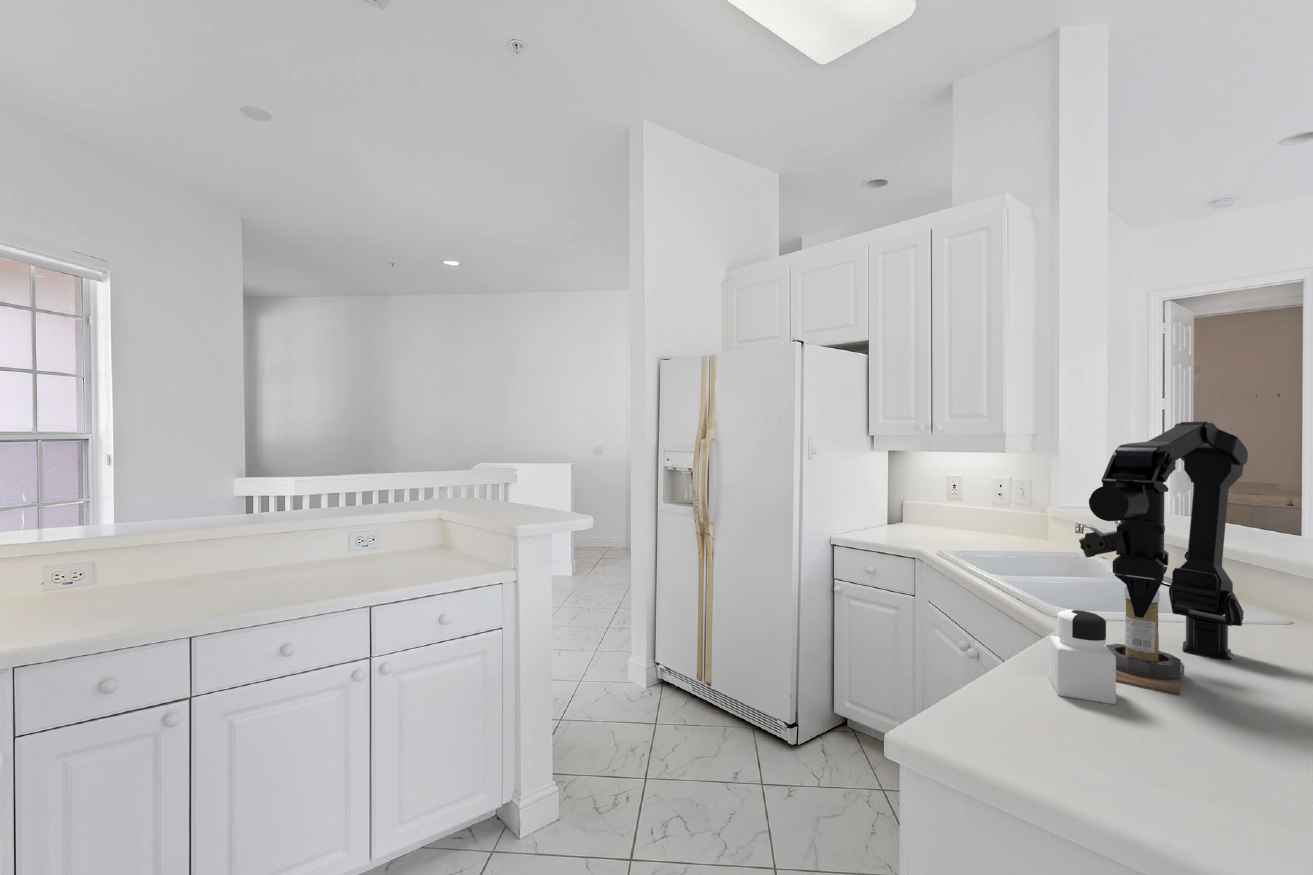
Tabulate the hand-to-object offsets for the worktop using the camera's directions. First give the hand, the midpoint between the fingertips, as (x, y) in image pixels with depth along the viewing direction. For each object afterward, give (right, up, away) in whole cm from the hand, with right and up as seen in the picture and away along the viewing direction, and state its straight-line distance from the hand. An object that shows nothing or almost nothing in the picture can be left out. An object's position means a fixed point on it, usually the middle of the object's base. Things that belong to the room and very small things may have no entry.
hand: (1141, 611), depth 99 cm
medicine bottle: (-17, -10, -9) cm, 21 cm away
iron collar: (0, -10, 0) cm, 10 cm away
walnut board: (0, -10, 0) cm, 10 cm away
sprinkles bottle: (0, -10, 0) cm, 10 cm away
